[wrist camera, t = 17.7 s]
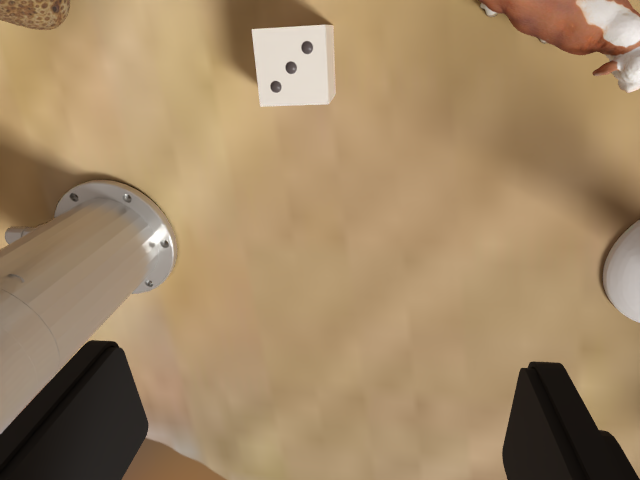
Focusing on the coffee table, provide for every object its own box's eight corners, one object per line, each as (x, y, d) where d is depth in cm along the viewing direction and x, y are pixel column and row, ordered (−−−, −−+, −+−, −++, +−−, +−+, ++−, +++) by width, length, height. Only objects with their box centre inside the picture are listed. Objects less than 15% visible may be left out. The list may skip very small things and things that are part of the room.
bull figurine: (585, 91, 31) (647, 110, 24) (440, -13, 29) (459, -26, 22) (634, 36, 29) (717, 38, 22) (481, -79, 27) (517, -118, 20)
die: (275, 96, 34) (260, 106, 30) (269, 29, 32) (251, 29, 28) (335, 94, 34) (328, 104, 29) (333, 24, 31) (325, 24, 27)
